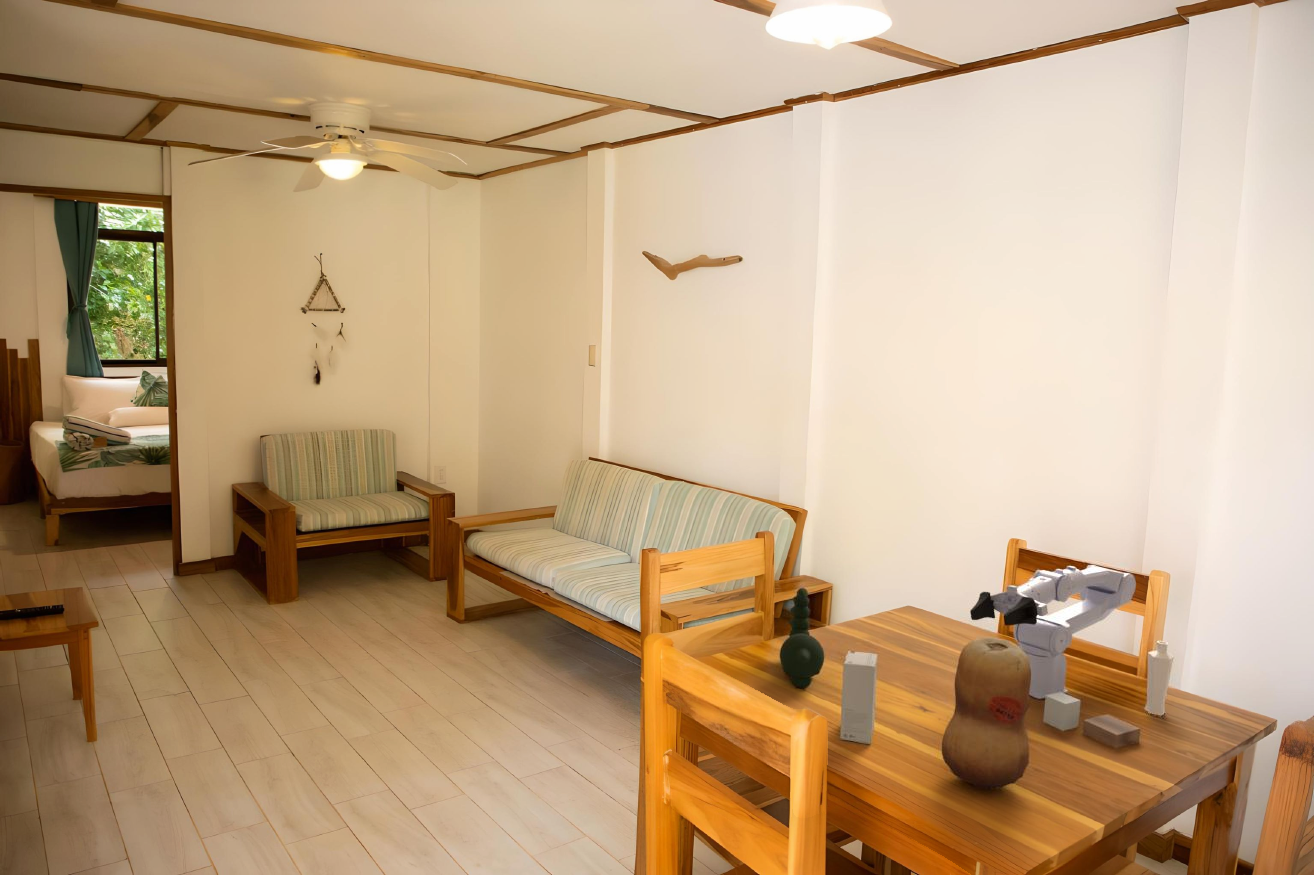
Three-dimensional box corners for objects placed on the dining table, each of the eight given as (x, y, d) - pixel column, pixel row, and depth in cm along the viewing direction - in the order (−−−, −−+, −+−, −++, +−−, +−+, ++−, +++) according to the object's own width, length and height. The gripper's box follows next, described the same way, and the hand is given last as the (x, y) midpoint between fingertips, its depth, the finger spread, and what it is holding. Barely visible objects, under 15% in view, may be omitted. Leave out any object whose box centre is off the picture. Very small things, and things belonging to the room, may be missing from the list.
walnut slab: (1105, 728, 176) (1107, 714, 176) (1138, 743, 170) (1140, 728, 169) (1082, 734, 173) (1083, 719, 172) (1115, 750, 166) (1116, 734, 166)
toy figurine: (777, 662, 208) (778, 695, 183) (781, 582, 208) (783, 604, 183) (817, 666, 207) (824, 699, 182) (822, 585, 207) (830, 607, 182)
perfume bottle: (1166, 710, 185) (1174, 640, 183) (1168, 718, 181) (1176, 647, 179) (1141, 705, 187) (1148, 637, 185) (1143, 713, 183) (1150, 643, 181)
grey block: (1058, 718, 179) (1060, 691, 179) (1078, 727, 175) (1080, 700, 175) (1043, 721, 177) (1045, 695, 177) (1062, 730, 173) (1065, 704, 173)
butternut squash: (957, 804, 144) (970, 655, 141) (928, 764, 157) (939, 627, 154) (1041, 805, 144) (1055, 657, 142) (1005, 765, 158) (1017, 629, 155)
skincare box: (871, 745, 164) (876, 667, 162) (837, 739, 165) (842, 662, 164) (874, 727, 171) (879, 652, 170) (842, 721, 173) (847, 648, 172)
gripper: (994, 576, 192) (955, 594, 185) (1056, 583, 181) (1018, 603, 173) (998, 607, 193) (960, 627, 185) (1061, 616, 181) (1023, 637, 174)
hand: (988, 617), depth 179 cm, fingers open, 7 cm apart
